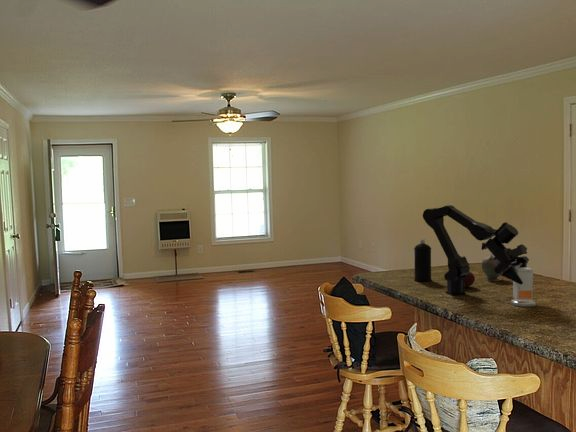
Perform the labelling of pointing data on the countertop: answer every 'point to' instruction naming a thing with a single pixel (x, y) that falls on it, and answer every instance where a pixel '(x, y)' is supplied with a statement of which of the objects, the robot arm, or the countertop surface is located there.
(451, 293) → the robot arm
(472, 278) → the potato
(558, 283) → the countertop surface
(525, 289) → the skincare box
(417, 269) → the aerosol can
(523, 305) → the silver round plate
